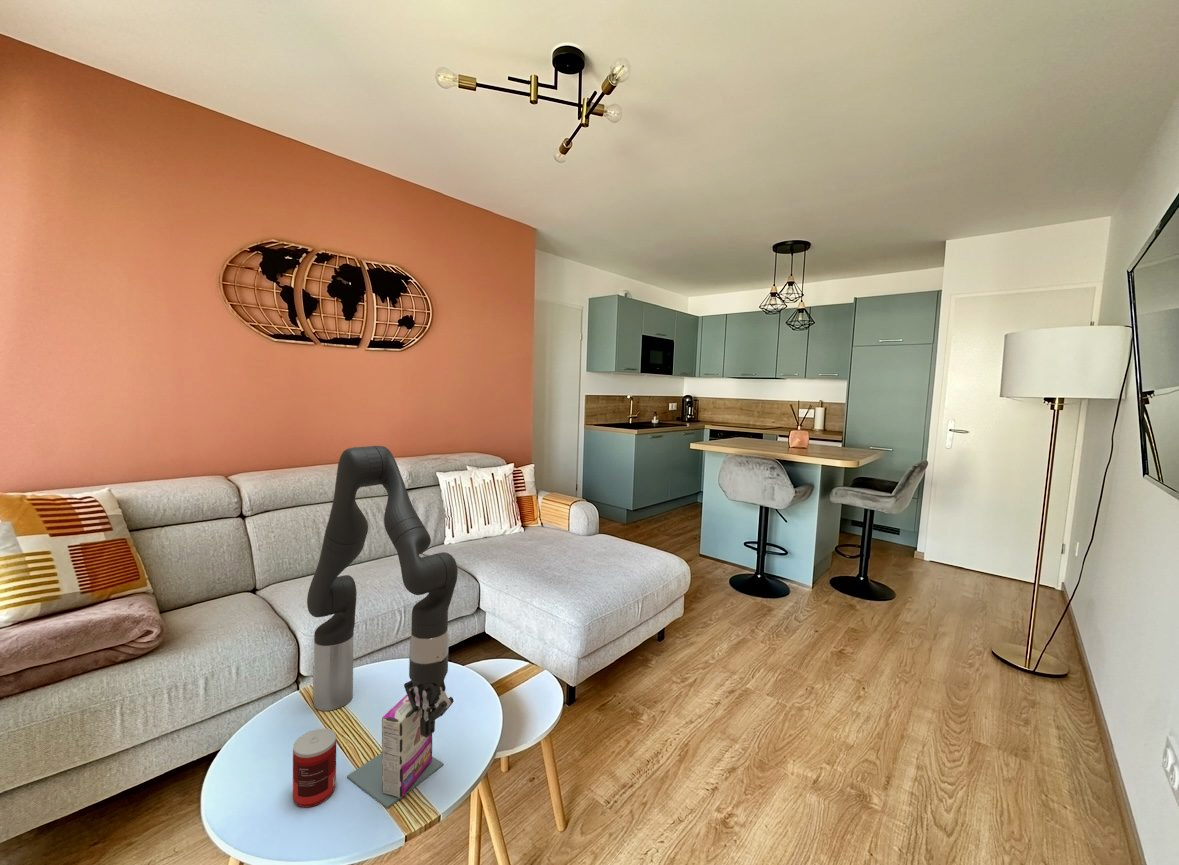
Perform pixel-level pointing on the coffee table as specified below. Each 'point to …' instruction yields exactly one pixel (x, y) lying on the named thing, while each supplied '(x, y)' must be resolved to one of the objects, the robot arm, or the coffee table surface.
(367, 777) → the mat
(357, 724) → the coffee table surface
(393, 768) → the candy bar box
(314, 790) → the canned food
